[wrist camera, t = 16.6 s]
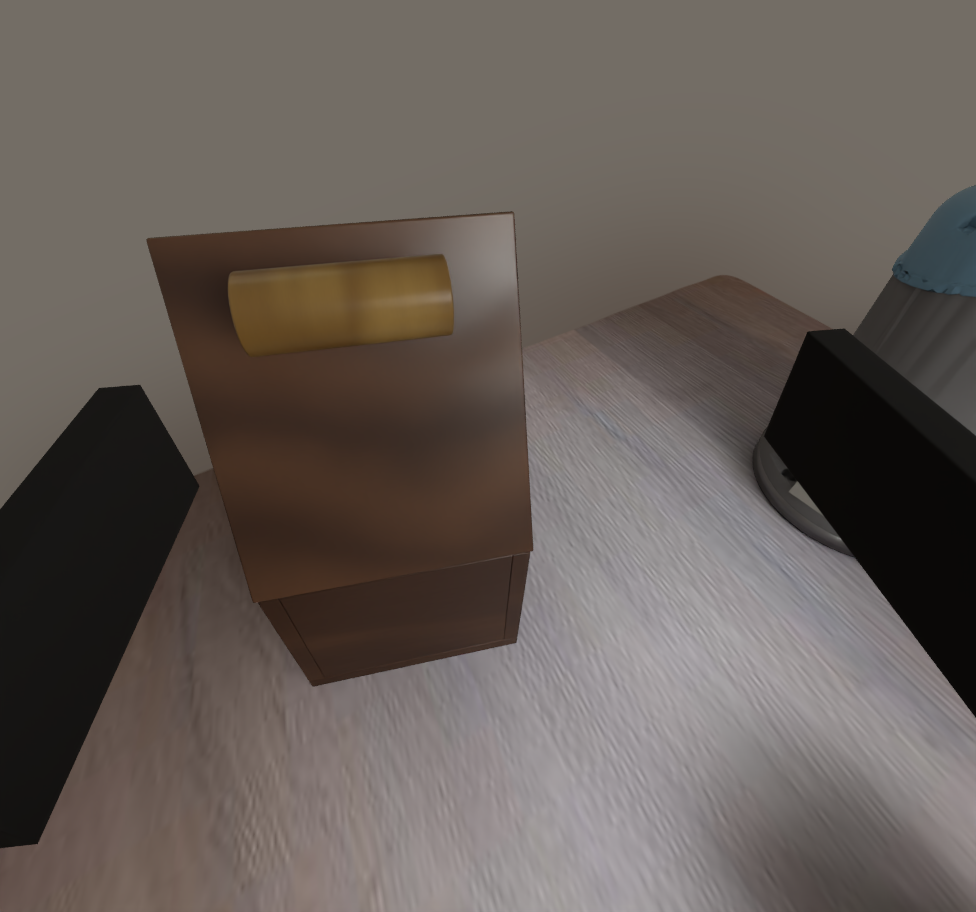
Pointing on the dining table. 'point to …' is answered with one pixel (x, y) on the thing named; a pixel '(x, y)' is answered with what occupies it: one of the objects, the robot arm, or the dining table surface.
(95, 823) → the dining table surface
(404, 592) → the caddy
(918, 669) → the dining table surface
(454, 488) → the lid
